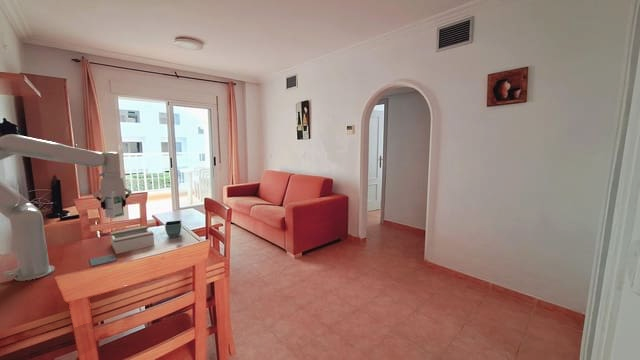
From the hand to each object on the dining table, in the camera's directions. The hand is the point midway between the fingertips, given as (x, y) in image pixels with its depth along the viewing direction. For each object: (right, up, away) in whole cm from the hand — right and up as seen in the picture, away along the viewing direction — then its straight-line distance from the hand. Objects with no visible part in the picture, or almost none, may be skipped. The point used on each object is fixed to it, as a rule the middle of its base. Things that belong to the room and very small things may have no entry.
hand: (113, 207), depth 143 cm
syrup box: (0, -5, +1) cm, 5 cm away
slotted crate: (0, -23, +14) cm, 27 cm away
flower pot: (+17, -22, +28) cm, 39 cm away
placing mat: (-1, -26, -6) cm, 27 cm away
